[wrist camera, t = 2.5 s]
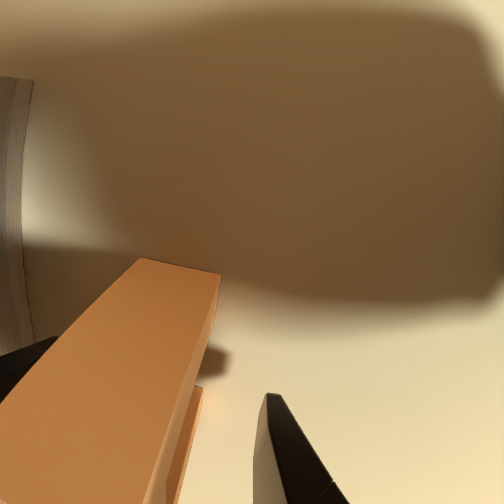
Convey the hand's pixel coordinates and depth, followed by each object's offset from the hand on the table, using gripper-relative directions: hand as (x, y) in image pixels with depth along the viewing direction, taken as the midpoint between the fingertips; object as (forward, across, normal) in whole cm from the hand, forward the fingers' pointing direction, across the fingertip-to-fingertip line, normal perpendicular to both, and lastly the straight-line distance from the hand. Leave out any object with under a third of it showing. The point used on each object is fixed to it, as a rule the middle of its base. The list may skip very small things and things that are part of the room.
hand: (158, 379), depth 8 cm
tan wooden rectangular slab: (+2, 0, 0) cm, 2 cm away
